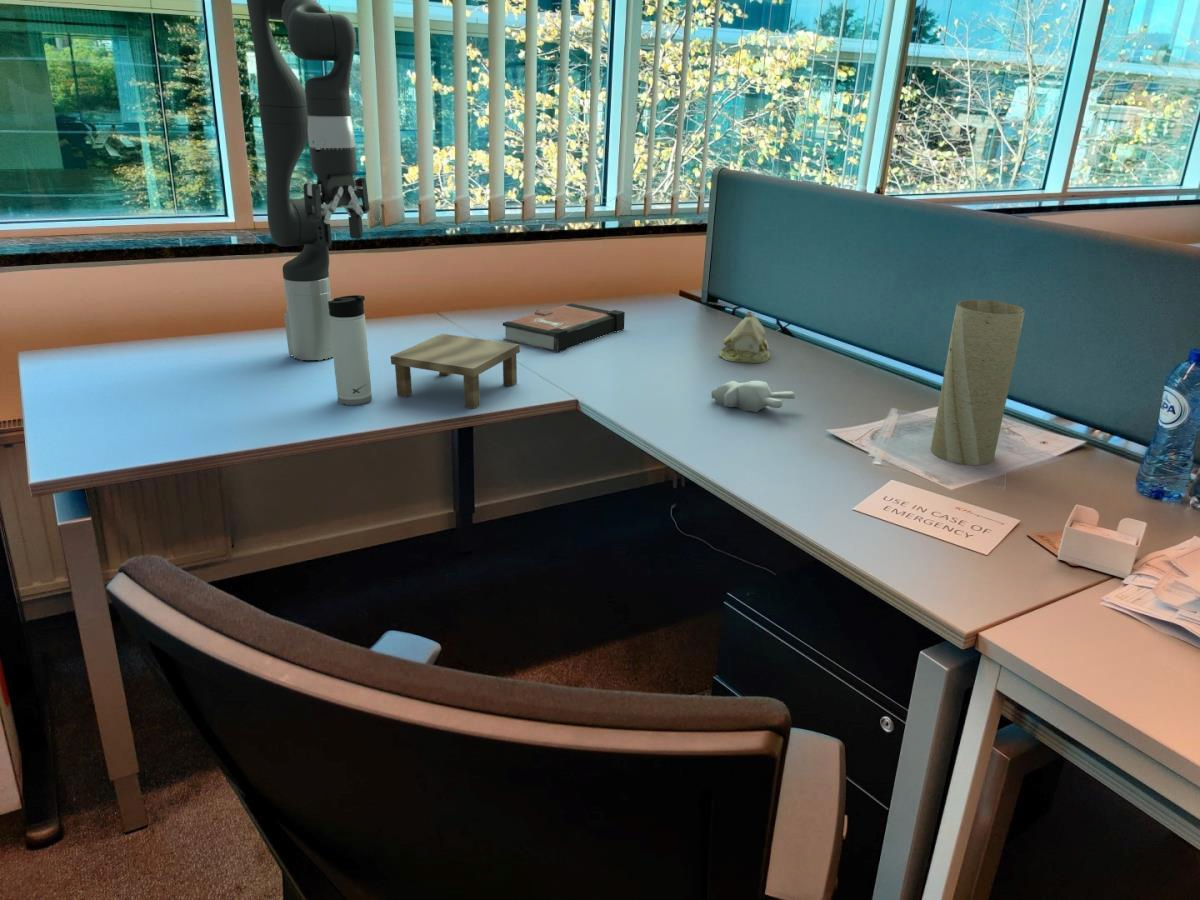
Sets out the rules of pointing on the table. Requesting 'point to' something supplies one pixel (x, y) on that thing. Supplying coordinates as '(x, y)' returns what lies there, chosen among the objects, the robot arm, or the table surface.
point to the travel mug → (350, 349)
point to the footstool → (456, 362)
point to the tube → (976, 380)
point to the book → (563, 326)
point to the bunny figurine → (749, 395)
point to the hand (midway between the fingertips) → (341, 241)
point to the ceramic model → (746, 342)
